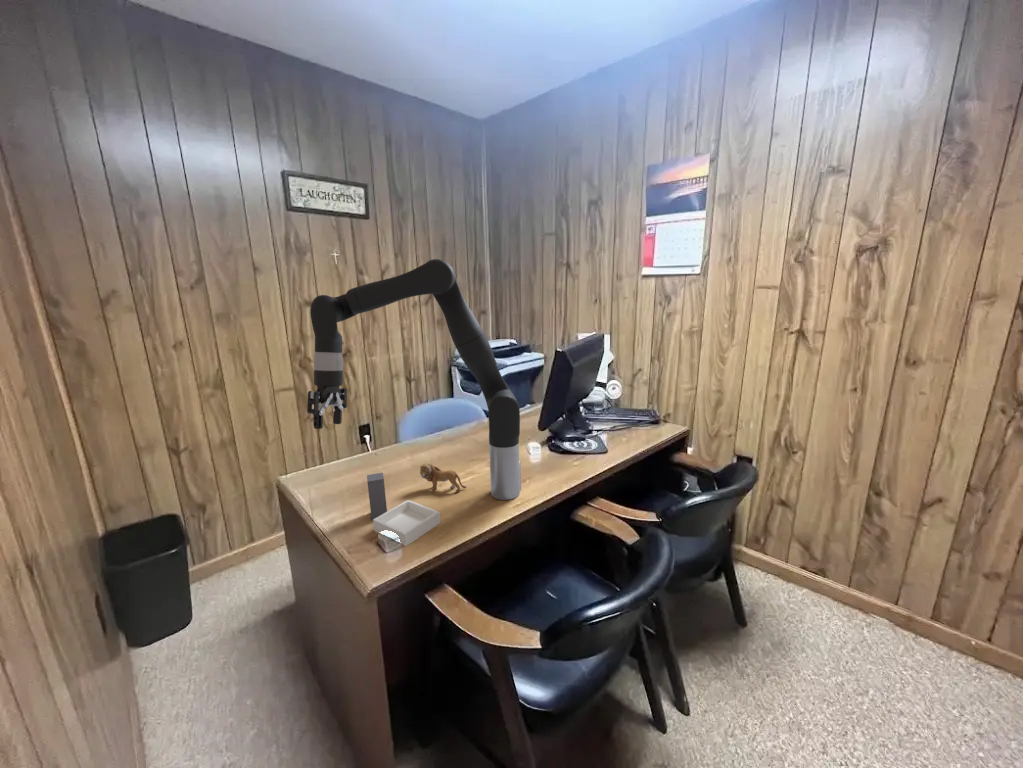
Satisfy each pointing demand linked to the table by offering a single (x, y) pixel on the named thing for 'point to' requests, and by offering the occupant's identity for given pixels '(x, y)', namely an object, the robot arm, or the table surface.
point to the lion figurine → (439, 476)
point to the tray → (407, 521)
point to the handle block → (376, 495)
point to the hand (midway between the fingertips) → (328, 426)
